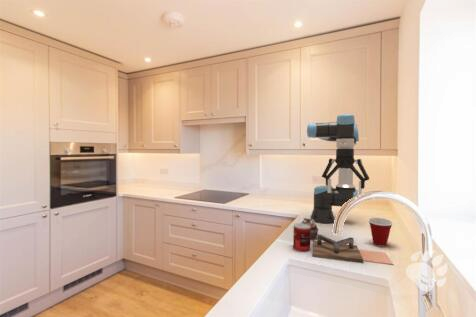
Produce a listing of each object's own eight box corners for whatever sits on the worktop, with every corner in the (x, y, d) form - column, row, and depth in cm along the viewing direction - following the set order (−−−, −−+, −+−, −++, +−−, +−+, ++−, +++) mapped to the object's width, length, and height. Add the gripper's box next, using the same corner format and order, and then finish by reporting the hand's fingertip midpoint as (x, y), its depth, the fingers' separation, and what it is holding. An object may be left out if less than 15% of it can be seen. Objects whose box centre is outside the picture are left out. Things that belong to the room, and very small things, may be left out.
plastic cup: (366, 245, 120) (366, 221, 120) (368, 238, 129) (369, 216, 129) (392, 250, 114) (392, 224, 114) (392, 243, 123) (393, 219, 123)
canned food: (297, 244, 121) (297, 222, 121) (313, 248, 116) (313, 225, 116) (290, 248, 115) (290, 225, 115) (306, 253, 110) (306, 229, 110)
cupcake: (300, 239, 127) (300, 220, 127) (299, 233, 136) (299, 216, 136) (319, 241, 125) (320, 221, 125) (316, 234, 135) (317, 217, 135)
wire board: (312, 243, 122) (312, 231, 122) (356, 248, 116) (356, 236, 116) (312, 256, 106) (312, 243, 106) (363, 263, 100) (363, 248, 100)
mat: (358, 250, 114) (358, 249, 114) (385, 253, 110) (385, 252, 110) (363, 261, 102) (363, 260, 102) (393, 265, 99) (393, 264, 99)
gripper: (315, 148, 117) (314, 192, 118) (373, 147, 101) (372, 198, 102) (321, 148, 123) (320, 190, 123) (377, 148, 107) (376, 196, 108)
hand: (344, 194), depth 113 cm, fingers open, 13 cm apart
